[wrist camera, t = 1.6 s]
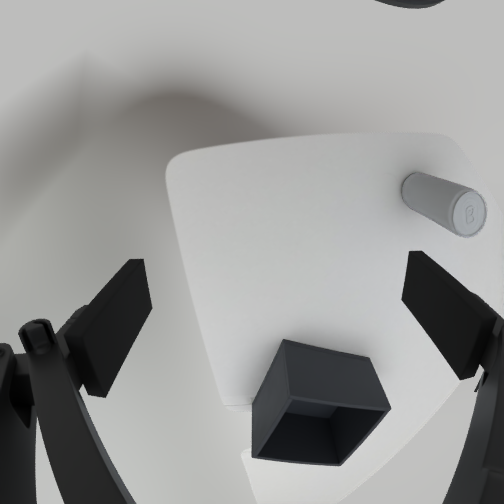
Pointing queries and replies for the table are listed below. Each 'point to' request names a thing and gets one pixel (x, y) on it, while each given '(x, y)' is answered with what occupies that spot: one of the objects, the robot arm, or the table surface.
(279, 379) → the trash bin
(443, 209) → the beverage can
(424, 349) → the table surface
